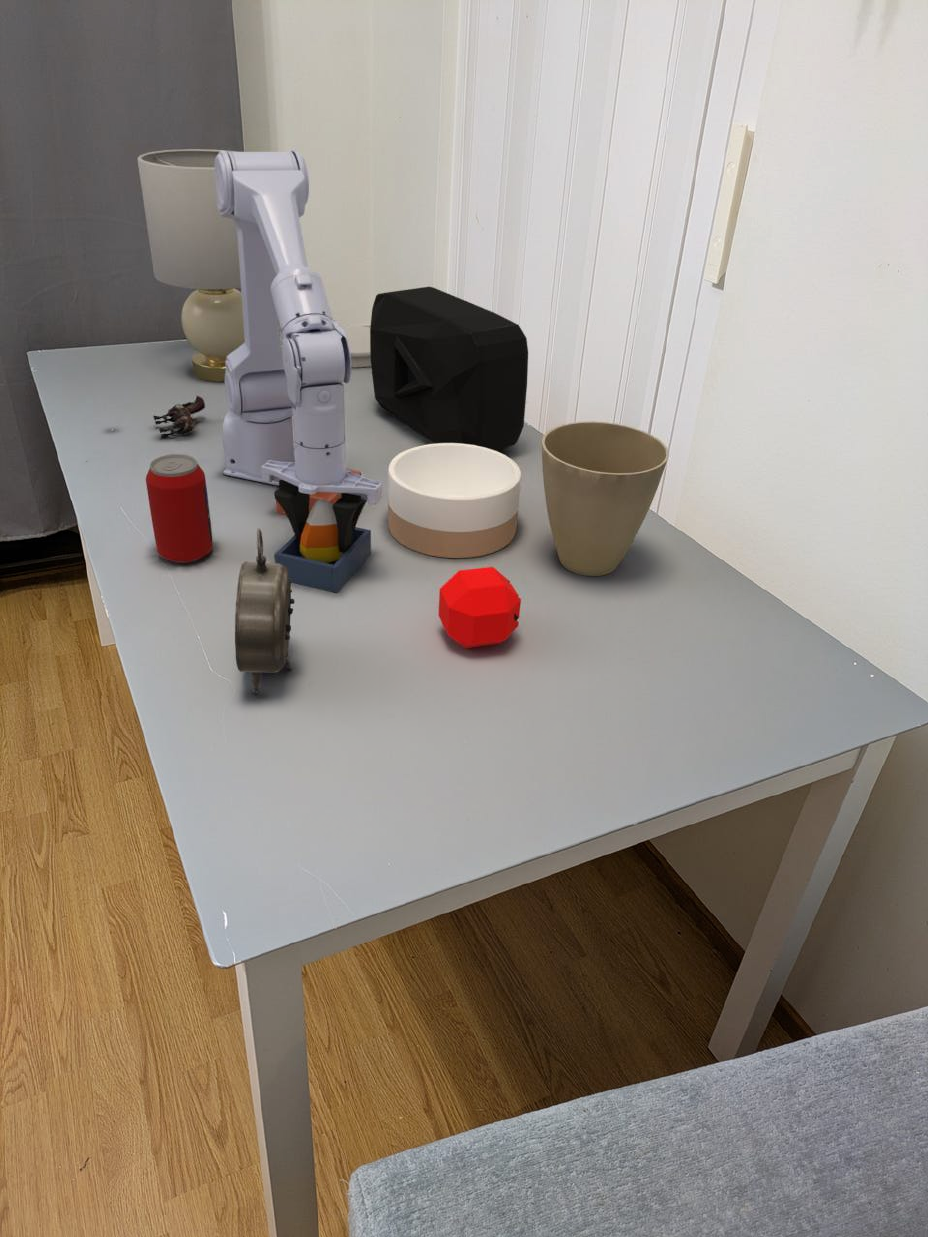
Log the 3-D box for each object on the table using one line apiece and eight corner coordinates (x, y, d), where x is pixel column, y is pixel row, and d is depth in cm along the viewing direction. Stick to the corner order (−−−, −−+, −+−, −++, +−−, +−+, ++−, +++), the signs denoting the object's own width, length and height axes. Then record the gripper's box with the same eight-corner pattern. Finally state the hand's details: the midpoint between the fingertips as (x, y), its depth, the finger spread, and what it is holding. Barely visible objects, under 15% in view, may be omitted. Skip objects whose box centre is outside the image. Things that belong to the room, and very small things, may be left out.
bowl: (421, 569, 113) (423, 509, 108) (367, 509, 125) (367, 453, 120) (540, 543, 120) (546, 485, 115) (478, 489, 132) (481, 434, 127)
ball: (522, 652, 99) (529, 593, 95) (452, 662, 97) (455, 601, 93) (499, 612, 106) (504, 555, 101) (433, 620, 104) (435, 562, 99)
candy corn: (347, 549, 114) (345, 491, 109) (350, 561, 111) (349, 503, 107) (298, 554, 112) (295, 495, 108) (301, 566, 110) (298, 506, 105)
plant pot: (509, 543, 119) (520, 428, 110) (608, 527, 124) (625, 415, 116) (564, 603, 108) (581, 480, 99) (669, 581, 113) (694, 463, 104)
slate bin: (276, 578, 109) (274, 554, 107) (313, 541, 117) (312, 517, 115) (337, 592, 107) (336, 568, 106) (371, 553, 115) (371, 530, 113)
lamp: (175, 353, 174) (149, 146, 155) (282, 354, 177) (270, 151, 157) (158, 390, 158) (126, 164, 138) (276, 391, 160) (261, 169, 140)
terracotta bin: (276, 512, 123) (275, 489, 121) (310, 483, 131) (309, 461, 129) (330, 524, 121) (329, 501, 119) (361, 493, 129) (361, 471, 127)
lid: (291, 340, 184) (290, 325, 182) (390, 339, 188) (390, 324, 186) (296, 369, 170) (295, 353, 168) (402, 367, 174) (403, 351, 172)
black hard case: (522, 456, 143) (534, 327, 131) (459, 473, 136) (466, 339, 125) (413, 395, 162) (415, 278, 151) (353, 407, 156) (351, 287, 145)
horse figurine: (125, 464, 139) (220, 433, 143) (116, 442, 137) (213, 411, 141) (114, 436, 145) (205, 407, 149) (105, 414, 142) (198, 385, 146)
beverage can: (224, 546, 115) (214, 457, 108) (194, 571, 110) (182, 480, 103) (178, 535, 117) (165, 447, 110) (146, 559, 111) (131, 469, 105)
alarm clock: (249, 638, 99) (236, 504, 90) (300, 638, 99) (292, 504, 90) (237, 703, 90) (221, 560, 81) (293, 702, 90) (283, 561, 81)
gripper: (244, 440, 102) (253, 546, 109) (364, 463, 98) (365, 572, 106) (275, 418, 107) (282, 521, 115) (389, 439, 104) (389, 544, 111)
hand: (323, 543), depth 111 cm, fingers closed on candy corn, 5 cm apart
